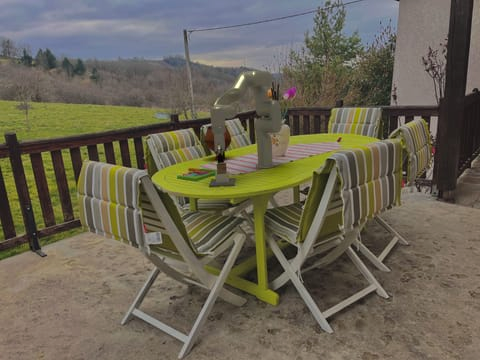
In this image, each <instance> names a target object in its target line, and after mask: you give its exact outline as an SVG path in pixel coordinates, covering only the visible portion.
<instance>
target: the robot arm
mask: <svg viewBox="0 0 480 360" xmlns="http://www.w3.org/2000/svg"><path fill="white" fill-rule="evenodd" d="M273 79H274V78H273V74H272V73H271V72H269V71H265V70H248V71H241V72H239V75H238V76H237V77H236V79H235V81H234V82H233V85H232V86H231V88H230V89H228V90H227V91H225V92H224V93H223V94H221V95H220V96H219V97H218V98H217V99H216V100H215V102H214V103H213V106H212V107H210V110H209V112H210V113H209V114H210V115H209V116H210V122H211V123H210V124H211V125H210V126H212V133H214V144H215V152H216V151H217V155H218V156H217V158H218V161H217V163H225V160H224V159H225V158H226V152H225V150H224V149H225V139H224V133H225V132H226V119H227V120H228V119H229V120H231V119H234V118H235V117H236V116H237V113H238V109H237V107H236V106H235V105H233V103H236V102H238V101H240V100H241V99H244V96H245V94H246V93H247V92H248V89H249V88H250V89H251V90H252V91H253V93H254V95H253V96H254V103H255V104H254V105H255V111H256V115H258V116H261V117H259V118H256V120H254V129H255V134H256V147H257V164H255V167H256V168H258V169H271V168H275V167H276V164H275V163H274V162H273V159H274V158H273V139H272V137H271V134H278V133H280V132H281V130H282V125H283V124H282V109H281V108H282V107H281V104H280V102H279V101H278V100H276V99H270V98H269V92H268V89H267V88H266V87H269V86H271V85H272V83H273ZM262 116H263V117H262ZM264 116H265V117H264ZM266 116H268V117H266ZM269 116H270V117H269ZM215 152H214V153H215Z"/></svg>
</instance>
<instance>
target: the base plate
mask: <svg viewBox="0 0 480 360" xmlns="http://www.w3.org/2000/svg"><path fill="white" fill-rule="evenodd" d="M236 180H237V178H236V177H229V182H226V183H216V178H212V179H211V180H210V182H209V184H208V188H219V187H220V186H224V187H235V186H236ZM220 188H221V187H220Z"/></svg>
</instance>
